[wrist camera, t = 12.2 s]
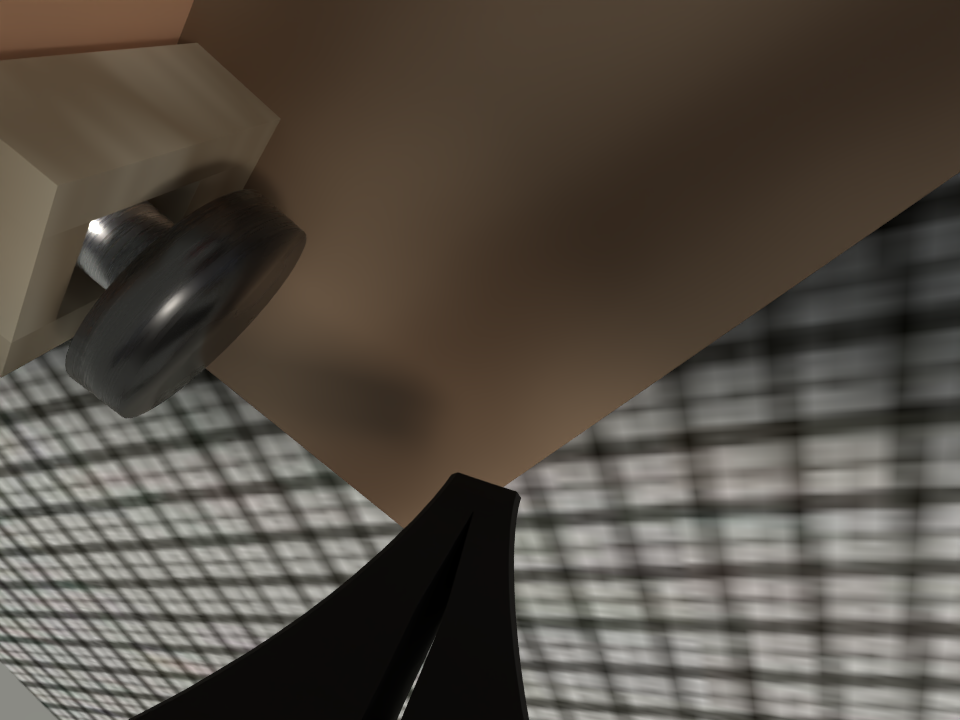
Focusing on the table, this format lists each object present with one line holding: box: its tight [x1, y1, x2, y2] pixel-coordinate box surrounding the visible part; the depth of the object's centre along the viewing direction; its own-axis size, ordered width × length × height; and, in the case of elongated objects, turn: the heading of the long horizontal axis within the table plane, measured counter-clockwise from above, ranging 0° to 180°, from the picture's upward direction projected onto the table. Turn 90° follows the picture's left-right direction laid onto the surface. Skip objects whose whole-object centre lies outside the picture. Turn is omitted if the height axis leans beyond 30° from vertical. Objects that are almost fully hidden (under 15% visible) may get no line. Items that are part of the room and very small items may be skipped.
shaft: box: [65, 189, 306, 418], centre depth 10 cm, size 8×4×4 cm, turn 50°
